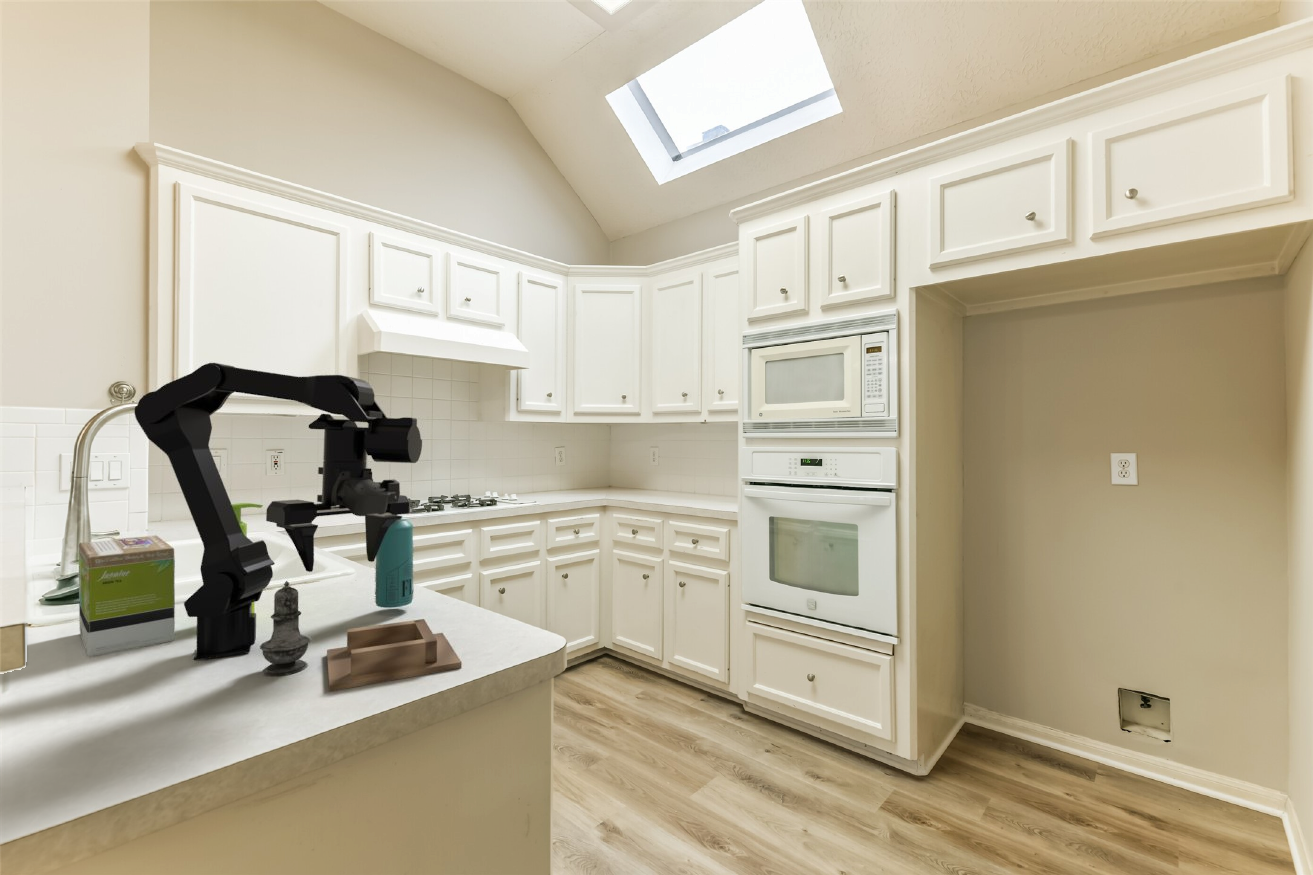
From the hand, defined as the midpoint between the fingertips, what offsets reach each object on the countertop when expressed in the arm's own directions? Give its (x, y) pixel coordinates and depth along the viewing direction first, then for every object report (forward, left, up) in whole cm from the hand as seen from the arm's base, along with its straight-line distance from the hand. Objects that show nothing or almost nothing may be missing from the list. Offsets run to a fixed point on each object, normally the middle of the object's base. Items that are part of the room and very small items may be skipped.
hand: (341, 566), depth 88 cm
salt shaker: (-7, -4, -13) cm, 15 cm away
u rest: (+6, -8, -13) cm, 16 cm away
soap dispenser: (-15, +24, -13) cm, 31 cm away
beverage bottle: (+9, +18, -13) cm, 24 cm away
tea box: (-29, +22, -13) cm, 38 cm away
